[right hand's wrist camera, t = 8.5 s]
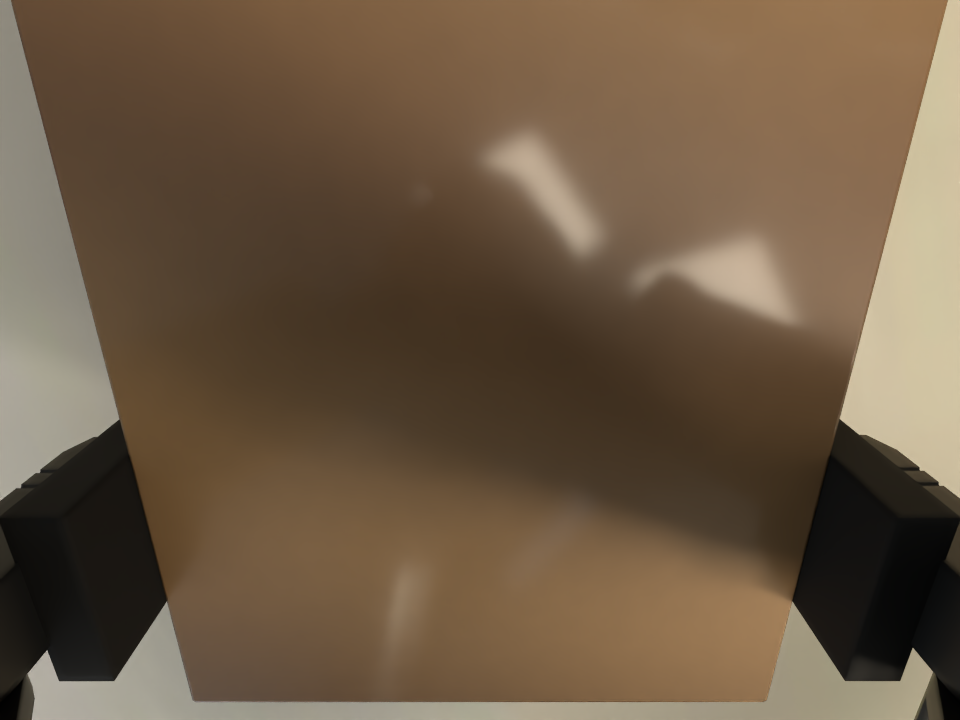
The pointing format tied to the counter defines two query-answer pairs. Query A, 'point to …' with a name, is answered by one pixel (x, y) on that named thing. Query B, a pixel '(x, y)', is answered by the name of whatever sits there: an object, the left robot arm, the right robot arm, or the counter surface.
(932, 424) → the counter surface
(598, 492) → the cabinet
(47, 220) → the counter surface
